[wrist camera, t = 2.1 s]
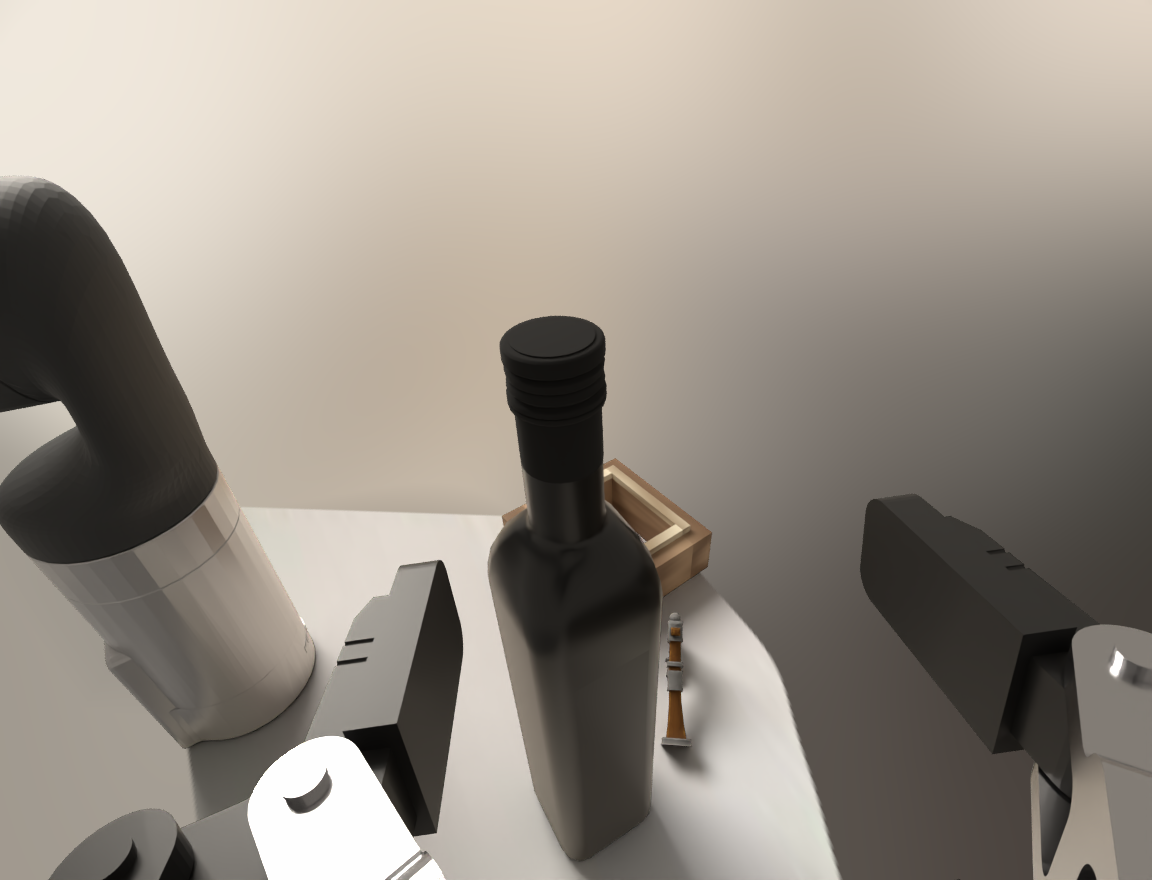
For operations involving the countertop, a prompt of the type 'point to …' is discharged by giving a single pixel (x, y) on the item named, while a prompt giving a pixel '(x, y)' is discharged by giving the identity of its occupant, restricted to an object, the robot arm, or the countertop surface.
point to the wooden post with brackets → (675, 685)
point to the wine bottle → (575, 596)
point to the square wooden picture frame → (655, 525)
